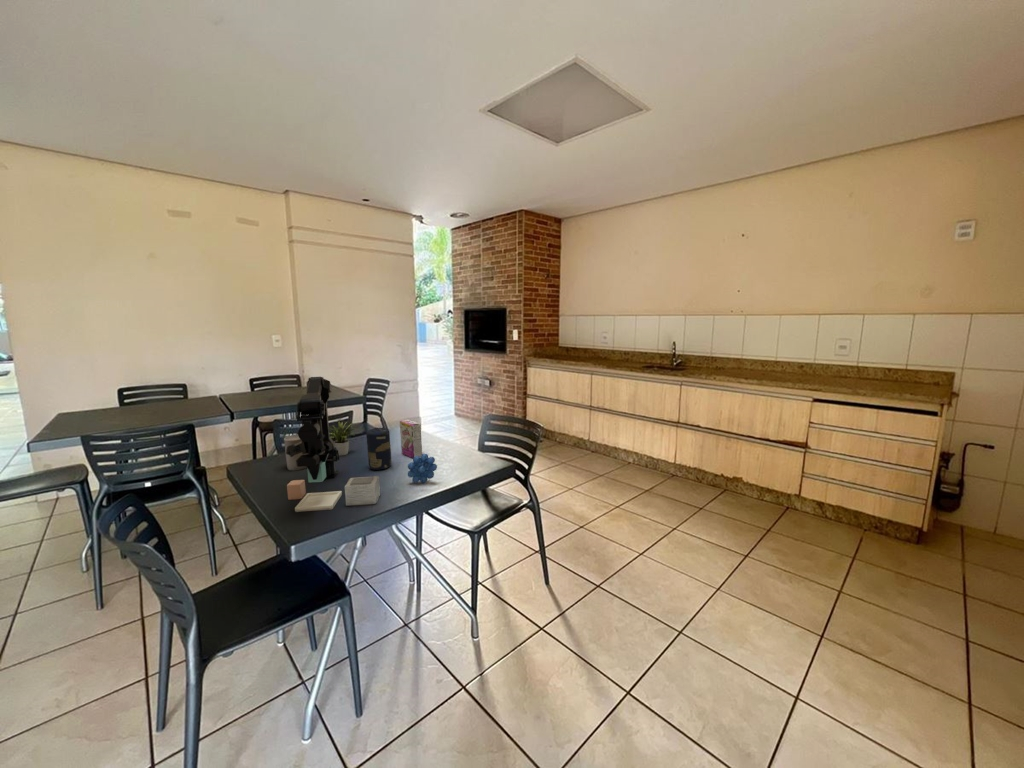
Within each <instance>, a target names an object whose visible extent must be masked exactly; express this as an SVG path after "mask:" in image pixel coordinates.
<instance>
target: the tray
mask: <svg viewBox="0 0 1024 768" xmlns="http://www.w3.org/2000/svg"><path fill="white" fill-rule="evenodd" d="M342 495H343V491H342V490H336V491H334V490H333V491H324V492H323V491H322V492H321V491H320V492H319V491H318V492H306V494H305V495H304V496H303V498H302V499H300V501H299V503H297V505H296V506H295V507H294V512H295V513H299V512H300V513H301V512H314V511H327V510H333V509H334V507H335V506H336V505H337V503H338V502H339V500H340V499H341V497H342Z"/></svg>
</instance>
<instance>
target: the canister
mask: <svg viewBox="0 0 1024 768" xmlns="http://www.w3.org/2000/svg"><path fill="white" fill-rule="evenodd" d="M390 434H391V433H390V430H389V428H387V427H373V428H370V429H367V431H366V434H365V435H366V448H367V459H368V460H367V461H368V467H369V468H370V469H371V470H375V471H379V470H384V469H387V468H390V466H391V465H392V451H391V450H392V449H391V438H390V437H391V436H390Z"/></svg>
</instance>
